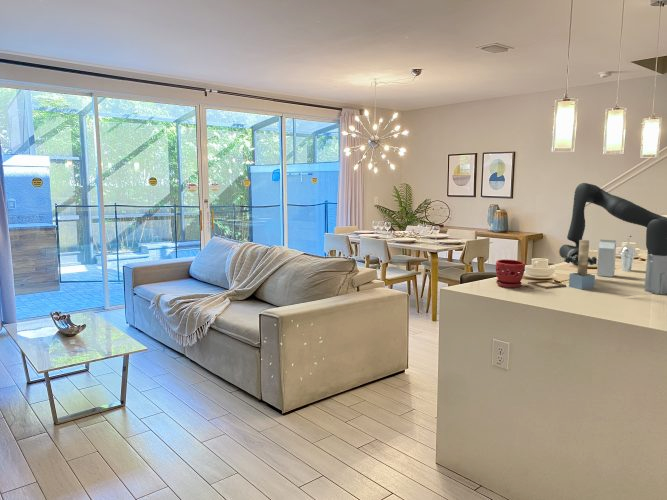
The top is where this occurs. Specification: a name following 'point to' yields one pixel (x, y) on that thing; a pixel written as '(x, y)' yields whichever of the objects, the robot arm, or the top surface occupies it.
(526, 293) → the top surface
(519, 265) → the plant pot
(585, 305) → the top surface
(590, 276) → the blue cube
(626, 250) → the cup with straw
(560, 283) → the walnut tray
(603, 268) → the milk carton
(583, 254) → the oak dowel
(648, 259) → the robot arm
